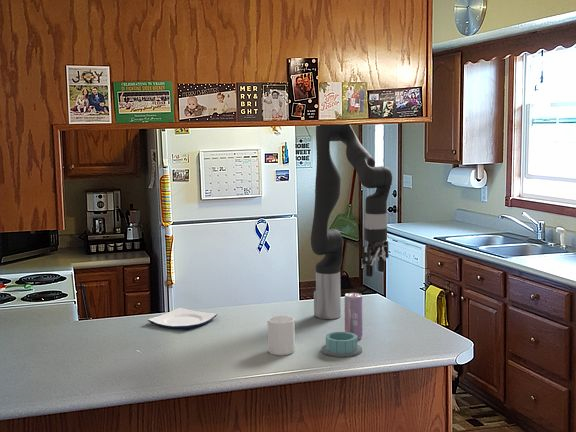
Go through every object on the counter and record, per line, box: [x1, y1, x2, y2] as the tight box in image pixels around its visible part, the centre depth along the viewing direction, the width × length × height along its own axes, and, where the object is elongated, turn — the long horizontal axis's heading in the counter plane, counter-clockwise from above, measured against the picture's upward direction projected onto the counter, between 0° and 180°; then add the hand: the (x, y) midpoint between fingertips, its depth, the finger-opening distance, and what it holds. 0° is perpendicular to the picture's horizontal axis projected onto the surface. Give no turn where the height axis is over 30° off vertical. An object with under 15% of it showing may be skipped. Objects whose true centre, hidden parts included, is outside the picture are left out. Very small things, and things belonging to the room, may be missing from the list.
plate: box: [147, 307, 218, 330], centre depth 266 cm, size 20×20×3 cm
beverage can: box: [344, 292, 363, 341], centre depth 242 cm, size 6×6×15 cm
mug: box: [266, 315, 296, 356], centre depth 231 cm, size 9×12×11 cm
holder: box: [321, 331, 363, 359], centre depth 230 cm, size 13×13×5 cm
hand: (375, 273), depth 241 cm, fingers open, 8 cm apart
